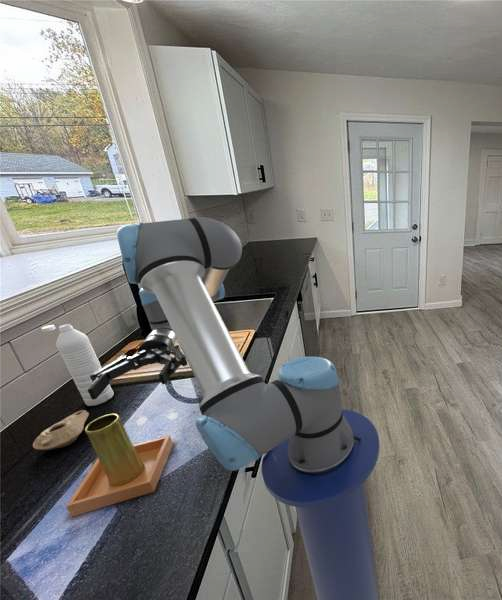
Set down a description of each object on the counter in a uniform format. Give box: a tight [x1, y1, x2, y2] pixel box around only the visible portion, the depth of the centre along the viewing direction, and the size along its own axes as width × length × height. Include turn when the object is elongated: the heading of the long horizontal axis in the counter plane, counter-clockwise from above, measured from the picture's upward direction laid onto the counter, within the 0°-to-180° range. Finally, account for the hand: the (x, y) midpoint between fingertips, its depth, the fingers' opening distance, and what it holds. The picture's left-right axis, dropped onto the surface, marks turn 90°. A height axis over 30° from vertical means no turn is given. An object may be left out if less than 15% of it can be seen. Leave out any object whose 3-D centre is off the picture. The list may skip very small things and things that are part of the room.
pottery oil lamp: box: [32, 409, 90, 451], centre depth 79 cm, size 9×12×7 cm
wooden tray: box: [65, 434, 174, 517], centre depth 68 cm, size 14×14×3 cm
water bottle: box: [40, 323, 115, 407], centre depth 90 cm, size 9×6×25 cm
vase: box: [84, 413, 144, 486], centre depth 66 cm, size 6×6×14 cm
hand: (127, 386), depth 73 cm, fingers open, 13 cm apart
